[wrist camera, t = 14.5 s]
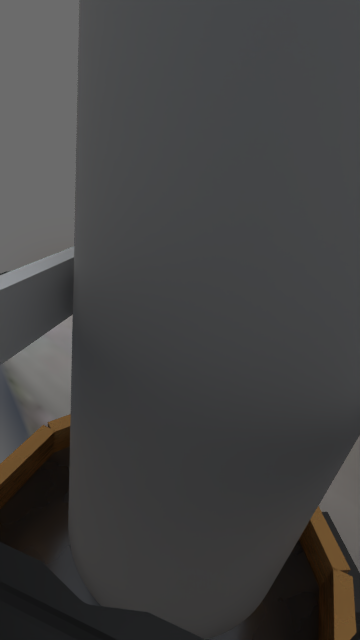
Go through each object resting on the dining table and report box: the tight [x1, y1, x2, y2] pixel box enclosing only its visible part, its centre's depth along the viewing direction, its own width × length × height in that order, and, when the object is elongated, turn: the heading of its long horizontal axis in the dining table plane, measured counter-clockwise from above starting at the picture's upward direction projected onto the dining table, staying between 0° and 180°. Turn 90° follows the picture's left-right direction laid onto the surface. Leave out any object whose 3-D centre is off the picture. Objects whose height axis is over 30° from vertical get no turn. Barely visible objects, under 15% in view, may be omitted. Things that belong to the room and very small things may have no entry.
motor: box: [0, 414, 360, 640], centre depth 21 cm, size 24×21×9 cm
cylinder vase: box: [68, 0, 360, 640], centre depth 15 cm, size 12×12×25 cm
